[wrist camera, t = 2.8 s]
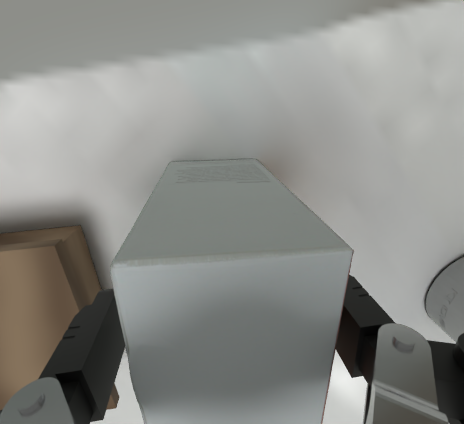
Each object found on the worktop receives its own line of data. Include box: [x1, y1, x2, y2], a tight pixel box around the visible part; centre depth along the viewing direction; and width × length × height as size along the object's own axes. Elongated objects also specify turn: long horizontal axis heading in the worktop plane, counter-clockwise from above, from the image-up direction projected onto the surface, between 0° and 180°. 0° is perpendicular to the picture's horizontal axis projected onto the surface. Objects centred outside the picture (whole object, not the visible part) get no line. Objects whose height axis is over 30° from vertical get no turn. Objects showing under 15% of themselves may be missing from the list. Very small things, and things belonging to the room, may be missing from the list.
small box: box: [110, 159, 354, 424], centre depth 14 cm, size 8×6×13 cm
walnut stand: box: [0, 225, 119, 410], centre depth 19 cm, size 14×14×5 cm
